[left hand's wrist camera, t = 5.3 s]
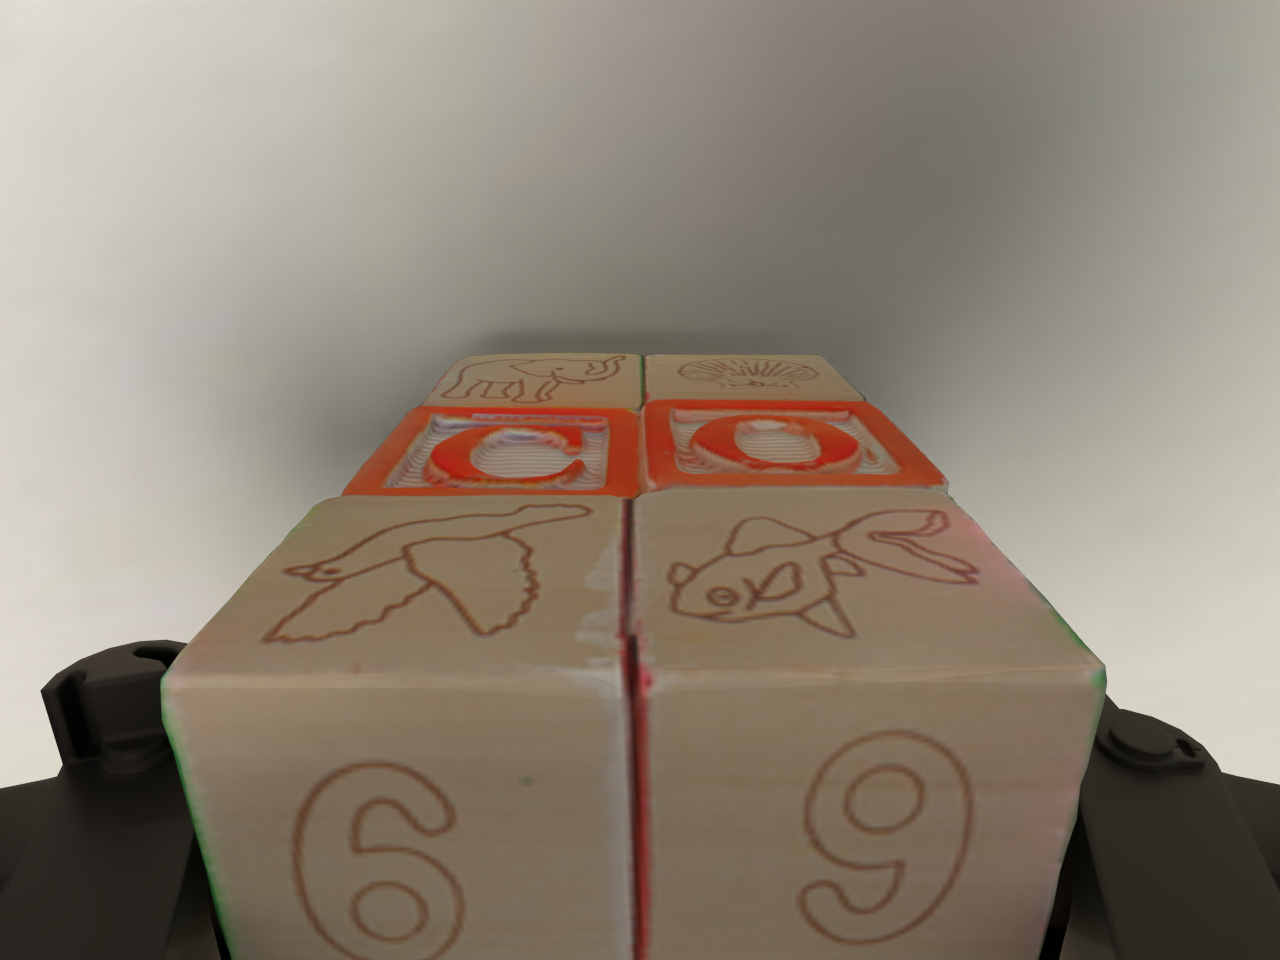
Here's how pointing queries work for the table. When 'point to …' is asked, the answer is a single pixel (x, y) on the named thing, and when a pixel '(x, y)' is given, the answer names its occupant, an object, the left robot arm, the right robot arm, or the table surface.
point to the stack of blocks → (636, 688)
